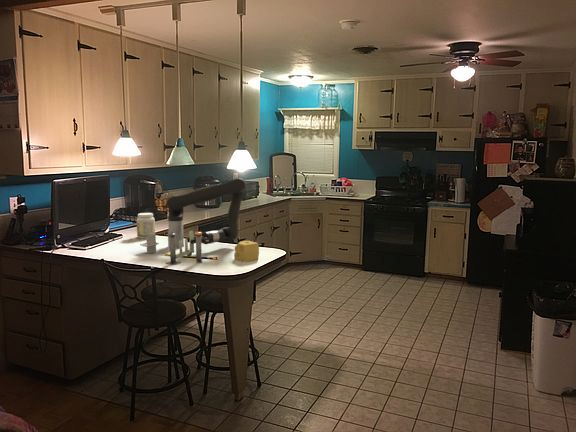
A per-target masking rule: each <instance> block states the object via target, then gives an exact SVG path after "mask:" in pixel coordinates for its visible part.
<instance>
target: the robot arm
mask: <svg viewBox="0 0 576 432" xmlns="http://www.w3.org/2000/svg"><path fill="white" fill-rule="evenodd" d="M246 188H247V181H246V180H244V179H243V178H241V177H237V178H234V179H231V180H230V181H226V182H224V183H220V184H219V183H218V184H212V185H208V186H203V187H201V188H197V189H195V190H193V191H190V192H188V193H185V194H180V195H178V194H173V195H171V196H170V197H168V199H167V201H166V206H167V208H168V215H167V216H168V217H167V219H168V220H167V223H168V232H167V241H168V243H167V245H168V247H169V248H170V236H169V234H170V233H176V235H175V247H176V249H179V241H182V248H185V239H184V208H185V207H188V206H191V205H192V206H193V205H197V204H203V203H208V202H211V201H213V200H216V199H219V198H222V197H224V196H227V195H230V194H232V196H231V201H230V205H229V207H228V212H227V216H226V217H227V218H226V224H228V225H229V227H225V226H224V227H223V228H220V229H217V230H209V231H203V232H202V235H201V244H203V245H209V244H214V243H217V242H222V241H224V240H225V239H228V240H230V241H234V240H236V239H237V238H238V235H239V226H238V225H239V224H238V222H239V215H240V210H241V204H242V199H243V196H244V193H245V190H246ZM187 239H188V243H189V244H190V243H191V244H194V245H195V244H196V235H194V240H191V241H190V239H189V237H187Z"/></svg>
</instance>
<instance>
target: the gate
mask: <svg viewBox="0 0 576 432" xmlns="http://www.w3.org/2000/svg"><path fill="white" fill-rule="evenodd" d="M188 233H189V235H188V236H189V237H188V238H189V239H190V241H191V240H194V236H195V232H194V230H189V232H188ZM188 238H185V239H184V251H183V247H182V241H179V248H178V249H179V253H176V260H178V259H180V258H183V257H186V256H187V257H192V255H193V253H195V243H194V244H191V243H190V242H188ZM188 243H189V245H188Z"/></svg>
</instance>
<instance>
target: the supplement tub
mask: <svg viewBox="0 0 576 432" xmlns="http://www.w3.org/2000/svg"><path fill="white" fill-rule="evenodd" d="M155 223H156V222H155V217H154V213H153V212H140V213H138V214H137V218H136V236H137V238H138V239H142V240H143V239H144V240H146V236H148V235H150V233H152V234H156V224H155Z"/></svg>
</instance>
